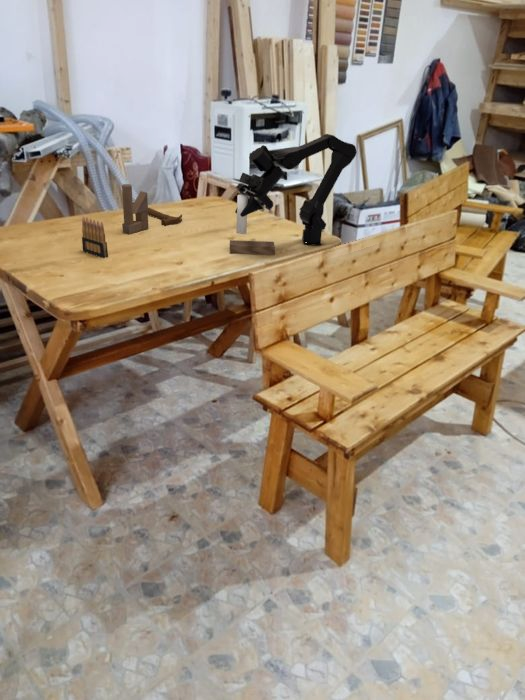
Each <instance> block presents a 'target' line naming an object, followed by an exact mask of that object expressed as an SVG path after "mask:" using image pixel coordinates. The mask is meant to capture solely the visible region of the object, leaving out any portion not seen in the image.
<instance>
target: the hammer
mask: <svg viewBox="0 0 525 700" xmlns="http://www.w3.org/2000/svg"><path fill="white" fill-rule="evenodd" d="M148 214H149V215H148V216H150V215H151V216H150V217H153V216H154V217H153V218H156V217H157V218H156V219H159V220H161V221H160V223H161V225H162V226H163V225H164V227H166V225H167V226H170V225H171V226H173V225H179V224H181V223H182V222H183V218H182V217H183V214H180V215H179V216H173V215H169V214H165V213H163V212H160V211H158V210H156V209H154V208H151V207H148Z"/></svg>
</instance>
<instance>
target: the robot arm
mask: <svg viewBox="0 0 525 700" xmlns="http://www.w3.org/2000/svg"><path fill="white" fill-rule="evenodd" d="M327 149H329V150H330V151H331V156H330V159H331V160H330V164H329V166H328V168H327V170H326V172H325V173H324V176H323V178H322V179H321V181H320V183H319V185H318V187H317V188H316V191H315V193H314V195H313V196H312V198H311V199H310V200H306V199H305V200H304V201H303V203H302V205H301V207H300V208H299V215H298V216H299V220H301V224H302V225H303V226H304V229H303V230H302V235H301V241H302V242H303V244H304V243H305V242H307V243H305V244H315V245H314V246H322V233H323V230H326V227H327V223H326V221H325V220H324V219H323V216H324V211H325V209H324V208H325V207H324V205H325V203H326V201H327V199H328V198H329V196H330V194H331V192H332V190H333V188H334V186H335V184H336V183H337V181H338V179H339V178H340V176H341V174H342V171H343V170H344V169H345V168H346V167H348V166H349V165H351V163H352V161H353V160H354V159H355V157H356V156H357V154H358V153H357V148H356V145H354V144H353V143H349V142H346V141H343V140H342V139H339V138H338V137H337V136H335V135H333V134H328V133H326V134H323V136H320V137H318V138H315V139H313V140H311V141H309V142H306V143H304V144H302V145H299V146H295V147H290V148H289V147H288V148H284V149H280V150H278V151H277V152H276V153H272V152H270V151H269V148H268V147H267V146H266V145H263V144H262V145H261V146H259V147H258V148H256V149H255V150H253V151H252V152H251V153H250V155H249V157H248V158H249V160H250V161H251V163H253V165H254V166H255V167H256V168H257V170H258V171H259V172H262V174H261V175H256V174H252V175H249V174H248V173H245V172H242V173H241V175H240V178H239V180H238V181H239V182H240V183H238V184H237V185H236V186H235V188H236V189H237V191H238V192H239V195H247V196H248V204H247V205H246V207H245V208H244V209H243V211H242V212H241V214H240V215H241V216H242V217H243V216H246V215H247V216H248V215H250V214H252V213H255V212H257V211H260V210H264V208H265V209H266V210H268V211H270V210H272V209H273V208H274V202H273V200H272V199H271V198H270V197H269V195H268V193H271V192H272V193H273V192H274V191H275V189H274V187H275V186H276V184H277V183H279V181H280V180H281V179H282V180H285V181H288V171H289V170H293V169H294V168H296V167H297V166H299V165H300V164H301V163H302V161H303V160H305V159H307V158H309V157H311V156H314V155H316V154H319V153H321V152H322V151H325V150H327ZM282 168H283V169H285V170H283V169H282ZM286 170H288V171H286ZM263 206H264V207H263ZM234 212H235V214H236V215H237V208H236V209H235V211H234ZM305 244H304V245H305Z"/></svg>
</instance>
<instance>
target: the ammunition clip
mask: <svg viewBox="0 0 525 700" xmlns="http://www.w3.org/2000/svg"><path fill="white" fill-rule="evenodd" d="M81 223H82V225H81V226H82V228H81V231H82V237H81V242H82V252H83V251H85V252H84V253H87V252H88V253H87V254H89V255H94V256H96V255H97V256H96V257H99V256H100V257H99V258H102V257H103V258H102V259H106V258H109V252H108V244H107V241H106V233H105V228H104V222H103V221H101V222H100V221H99V220H95V219H93V220H92V219H91V218H90V219H89V218H88V217H86V218H85V217H84V216H82V218H81ZM105 257H106V258H105Z"/></svg>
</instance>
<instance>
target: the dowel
mask: <svg viewBox="0 0 525 700" xmlns="http://www.w3.org/2000/svg"><path fill="white" fill-rule="evenodd" d="M236 201H237V202H236V203H237V204H236V209H237V214H236V231H235V232H236V234H238V235H246V234H247V228H248V215H246V216H243V217H242V216H241V215H240V214H241V212H242V211H243V209H244V208H245V207H246V205H247V204H248V196H247V195H241V194H238V195H237V200H236Z"/></svg>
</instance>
